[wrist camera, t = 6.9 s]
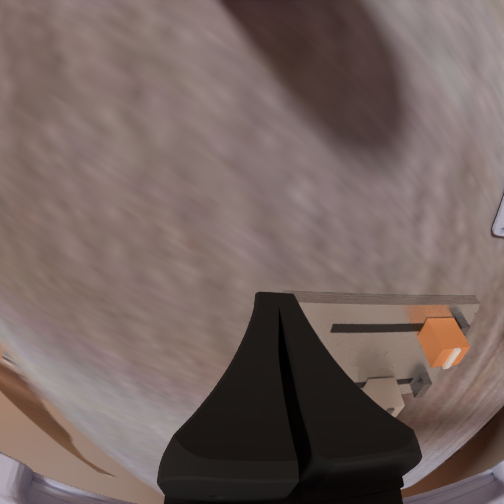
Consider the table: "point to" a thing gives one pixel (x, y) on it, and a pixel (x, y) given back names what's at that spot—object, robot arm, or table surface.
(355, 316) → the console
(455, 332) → the fader orange
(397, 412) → the fader white
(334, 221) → the table surface
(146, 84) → the table surface
